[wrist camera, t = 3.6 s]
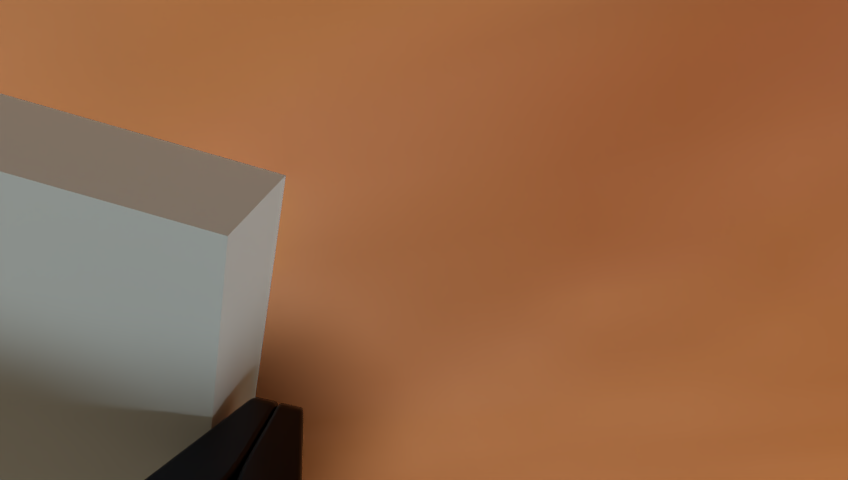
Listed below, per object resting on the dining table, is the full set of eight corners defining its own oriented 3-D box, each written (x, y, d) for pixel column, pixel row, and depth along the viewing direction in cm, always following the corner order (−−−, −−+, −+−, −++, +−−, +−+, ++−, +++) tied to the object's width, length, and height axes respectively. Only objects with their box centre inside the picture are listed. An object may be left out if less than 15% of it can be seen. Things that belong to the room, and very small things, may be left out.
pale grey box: (248, 485, 12) (196, 593, 10) (-8, 413, 12) (-112, 508, 10) (294, 166, 9) (227, 236, 6) (-78, 59, 8) (-267, 95, 6)
